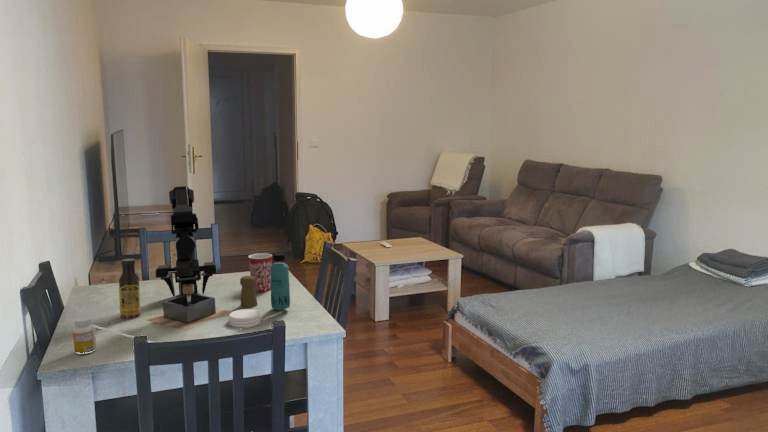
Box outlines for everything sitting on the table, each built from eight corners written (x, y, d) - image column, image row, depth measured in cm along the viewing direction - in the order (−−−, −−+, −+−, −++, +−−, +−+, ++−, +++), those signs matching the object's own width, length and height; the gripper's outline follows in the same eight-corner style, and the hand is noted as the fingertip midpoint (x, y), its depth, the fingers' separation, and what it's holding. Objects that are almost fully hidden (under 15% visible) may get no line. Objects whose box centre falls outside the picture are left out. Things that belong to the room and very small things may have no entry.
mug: (277, 290, 222) (276, 255, 220) (255, 294, 217) (254, 259, 215) (263, 283, 232) (262, 250, 230) (242, 287, 227) (240, 253, 225)
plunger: (169, 316, 190) (167, 287, 188) (191, 308, 197) (189, 280, 196) (188, 320, 185) (186, 290, 183) (210, 312, 193) (208, 284, 191)
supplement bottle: (80, 348, 165) (77, 316, 164) (99, 348, 166) (96, 315, 164) (71, 356, 160) (67, 322, 159) (91, 355, 160) (87, 321, 159)
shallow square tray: (159, 316, 190) (158, 300, 190) (187, 307, 200) (186, 291, 199) (187, 323, 183) (186, 307, 182) (215, 313, 193) (214, 297, 192)
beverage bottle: (272, 308, 200) (269, 252, 196) (291, 307, 200) (289, 251, 197) (270, 314, 193) (267, 256, 190) (290, 313, 194) (287, 255, 191)
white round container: (234, 318, 190) (233, 308, 190) (264, 318, 190) (263, 308, 189) (224, 329, 180) (224, 318, 180) (256, 329, 180) (255, 318, 179)
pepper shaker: (253, 310, 198) (251, 279, 196) (237, 309, 199) (235, 278, 198) (260, 304, 204) (259, 274, 202) (244, 303, 205) (243, 273, 204)
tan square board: (144, 321, 188) (144, 319, 188) (193, 304, 205) (193, 303, 205) (186, 331, 178) (185, 330, 178) (234, 313, 194) (234, 312, 194)
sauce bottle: (121, 322, 187) (116, 262, 184) (120, 316, 193) (114, 258, 190) (142, 319, 190) (138, 260, 187) (141, 313, 196) (136, 256, 193)
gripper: (151, 255, 178) (155, 304, 180) (214, 252, 182) (216, 299, 184) (156, 248, 188) (160, 294, 191) (215, 245, 193) (218, 290, 195)
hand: (188, 295), depth 190 cm, fingers open, 9 cm apart
